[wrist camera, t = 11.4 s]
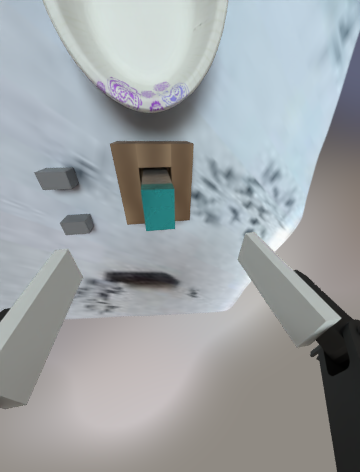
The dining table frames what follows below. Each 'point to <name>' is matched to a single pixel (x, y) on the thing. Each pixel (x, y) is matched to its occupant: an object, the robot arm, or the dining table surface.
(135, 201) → the port
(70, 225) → the pair of grey prisms
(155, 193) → the plug
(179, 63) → the white floral bowl
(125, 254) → the dining table surface
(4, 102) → the dining table surface
